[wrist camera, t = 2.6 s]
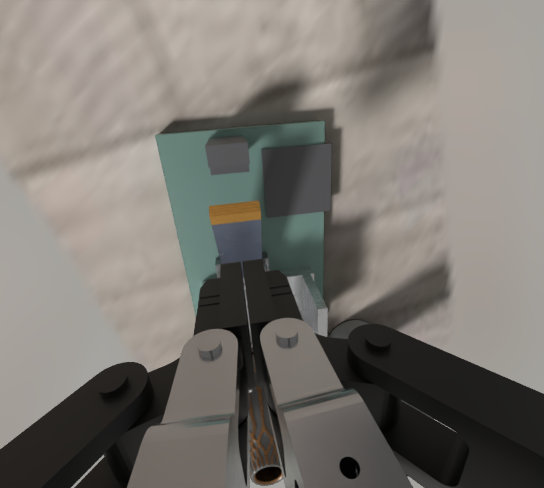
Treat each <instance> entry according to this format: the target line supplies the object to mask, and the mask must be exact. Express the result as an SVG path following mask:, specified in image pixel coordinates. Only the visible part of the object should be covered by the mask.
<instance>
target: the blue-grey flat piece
mask: <svg viewBox="0 0 544 488" xmlns="http://www.w3.org/2000/svg"><path fill="white" fill-rule="evenodd" d="M209 217H210V221H211V225H212V229H213V233H214V237H215V241H216V245H217V249H218V253H219V257H220V261H221V264H226V263H233V262H241V269H242V276H243V284H244V286H245V280H244V271H243V263H242V261H248V260H255V259H262V238H261V210H260V204H259V200H258V201H249V202H240V203H231V204H222V205H213V206H209ZM264 269H265V272H266V271H268V267H267V264H266V265H264ZM218 277H219V278H220V271H218Z"/></svg>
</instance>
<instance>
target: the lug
mask: <svg viewBox="0 0 544 488" xmlns="http://www.w3.org/2000/svg"><path fill="white" fill-rule="evenodd" d="M205 149H206V155H207V161H208V168H210V172H211V175H220V174H230V173H241V172H250V170H249V164H250V159H249V149H248V142H247V140H246V139H245V137H244V136H243V135H239V136H228V137H216V138H209V139H208V141H207V143H206V145H205Z"/></svg>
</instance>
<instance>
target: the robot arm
mask: <svg viewBox="0 0 544 488" xmlns="http://www.w3.org/2000/svg"><path fill="white" fill-rule="evenodd" d="M242 263H243V271H244V280H245V288H246V296H247V305H248V313H249V321H250V329H251V337H252V344H253V352H254V360H255V367H256V375H257V383H258V388H262V387H265V390H266V396H267V404H268V412H269V418H270V422H271V426H272V431H273V435H274V439H275V444H276V448H277V452H278V457H279V461H280V465H281V470H282V474H283V478H284V483H285V487H286V488H413V486H412V485H411V483H410V481H409V480H408V478H407V476H406V475H408V476H409V477H411V478H412V479H413V480H415V481H416V482H417V483H419V484H420V485H421V486H423V487H424V488H544V394H543V393H540V392H538V391H536V390H533V389H531V388H529V387H526V386H524V385H521V384H519V383H517V382H515V381H512V380H510V379H508V378H505V377H503V376H501V375H498V374H496V373H494V372H491V371H489V370H487V369H485V368H482V367H480V366H478V365H475V364H473V363H471V362H468V361H466V360H464V359H461V358H459V357H457V356H454V355H452V354H450V353H447V352H445V351H443V350H440V349H438V348H436V347H433V346H431V345H429V344H427V343H424V342H422V341H420V340H417V339H415V338H413V337H410V336H408V335H406V334H403V333H401V332H399V331H396V330H394V329H392V328H389V327H387V326H383V325H378V324H365V325H361V326H358V327H356V328H355V329H353V330H352V331H351V332H350V334H349V336H348V339H342V338H331V337H325V336H322V335H319V334H317V333H315V332H314V331H313V329H312V328H311V327H310V326H309V325H308V324H307V323H306V322H304V321H303V319H302V316H301V313H300V311H299V308H298V306H297V303H296V300H295V298H294V295H293V293H292V290H291V287H290V284H289V282H288V279H287V277H286V276H285V275H284V274H283V273H281V272H280V271H279V270H273V271H266V272H265V269H264V265H263V261H262V259H255V260H248V261H242ZM252 389H256V385H255V376H254V367H253V359H252V350H251V341H250V332H249V324H248V315H247V307H246V299H245V291H244V284H243V276H242V269H241V262H233V263H226V264H221V265H220V278H215V279H208V280H207V281H206V282H205V283H204V284H203V286H202V287H201V288H200V293H199V300H198V308H197V315H196V322H195V329H194V336H193V337H192V338H191V339H190V340H188V342H187V343H186V344H185V345H184V347H183V350H182V353H181V356H180V358H178V359H177V360H175V361H174V362H172V363H170V364H168V365H166V366H163V367H161V368H158V369H156V370H154V371H151V372H149V373H148V372H147V370H146V368H145V367H144V366H143V365H141V364H139V363H135V362H125V363H120V364H116V365H114V366H111V367H109V368H107V369H105V370H103V371H102V372H100V373H99V374H97V375H96V376H95V377H93V378H92V379H91V380H89V381H88V382H87V383H86V384H84V385H83V386H82V387H80V388H79V389H78V390H77V391H75V392H74V393H73V394H71V395H70V396H69V397H67V398H66V399H65V400H64V401H62V402H61V403H60V404H59V405H57V406H56V407H54V408H53V409H52V410H51V411H49V412H48V413H47V414H45V415H44V416H43V417H42V418H40V419H39V420H38V421H36V422H35V423H34V424H33V425H31V426H30V427H29V428H27V429H26V430H25V431H24V432H22V433H21V434H20V435H18V436H17V437H16V438H14V439H13V440H12V441H11V442H9V443H8V444H7V445H6V446H4V447H3V448H2V449H0V488H71V487H72V486H73V485H74V484H75V483H76V481H78V480H79V479H80V478H81V477H82V476H83V474H85V473H86V472H87V470H88V469H90V468H91V466H92V465H93V464H94V463H95V462H96V461H97V460H98V459H99V458H100V457H101V456H102V455H104V456H105V457H104V458H103V459H102V460H101V461H100V462H99V463H98V464H97V465H96V466H95V467H94V468H93V469H92V470H91V471H90V472H89V473H88V475H86V476H85V478H84V479H82V480H81V482H80V483H79V484H78V485H77V486H76V487H75V488H250V418H249V408H250V399H249V390H252ZM402 400H403V401H404V402H406V403H408V404H410V405H411V406H413V407H415V408H416V409H415V408H413V407H411V406H410V405H408V404H406V403H404V402H403V401H402ZM417 409H418V410H420V411H422V412H423V413H425V414H427V415H429V416H430V417H432V418H434V419H435V420H438V421H439V422H441V423H442V424H444V425H446V426H448V427H450V428H451V429H453V430H454V431H456V432H457V433H456V432H454V431H453V430H451V429H449V428H448V427H445V426H444V425H442V424H441V423H439V422H437V421H435V420H434V419H432V418H430V417H429V416H427V415H425V414H423V413H422V412H420V411H418V410H417Z"/></svg>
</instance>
